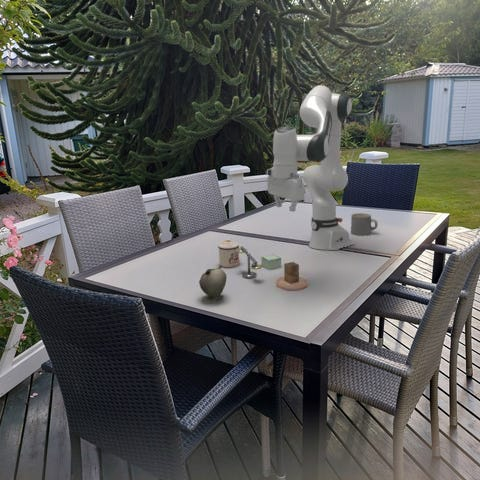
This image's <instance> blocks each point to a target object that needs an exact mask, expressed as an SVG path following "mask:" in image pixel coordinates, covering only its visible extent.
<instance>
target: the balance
mask: <svg viewBox="0 0 480 480" xmlns="http://www.w3.org/2000/svg"><path fill="white" fill-rule="evenodd" d="M236 252H238V253H239V254H245V255H246V257H247V271H244V272H242V273H241V277H242V278H243V279H254V278H257V276H258V275H257V272H255V271H251V269H252V270H261V269H262V268H263V266H262V264H259V263H258V261H257V260H256V259H255V258H254V256H252V254H251V253H250V252H249V251H248V249H247V248H245V247H244V246H239V249H237V250H236ZM251 261H252V263H251Z"/></svg>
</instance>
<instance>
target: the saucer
mask: <svg viewBox="0 0 480 480" xmlns="http://www.w3.org/2000/svg"><path fill="white" fill-rule="evenodd" d="M275 285H276V287H277V288H278V289H280V290H285V291H300V290H304V289H306V288H307V287H308V280H307V279H306V278H304V277H301V276H299V282H296V283H292V284H289V283H288V282H286V281H284V276H281V277H279V278H277V279H276V281H275Z"/></svg>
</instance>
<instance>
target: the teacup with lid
mask: <svg viewBox="0 0 480 480" xmlns="http://www.w3.org/2000/svg"><path fill="white" fill-rule="evenodd" d="M237 249H240V245H239V243H238V242H235V241H233V240H231V238H226V239H225V241H223V242H220V243H219V244H218V258H219V259H218V260H219V267H220V266H221V268H235V267H236V266H238V265H239V264H240V255H239V254H240V253H238V252H236V250H237Z"/></svg>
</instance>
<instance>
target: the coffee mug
mask: <svg viewBox="0 0 480 480" xmlns="http://www.w3.org/2000/svg"><path fill="white" fill-rule="evenodd" d="M350 220H351V222H350V234H351V235H353V236H358V237H366V236H370V235H371V231H374V230H377V228H378V220H377V219H375V218H372V215H371V214H369V213H366V212H363V213H362V212H356V213H355V212H354V213H352V214H351V219H350ZM372 222H373V223H374V226H372ZM369 234H370V235H369ZM365 235H366V236H365Z"/></svg>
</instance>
